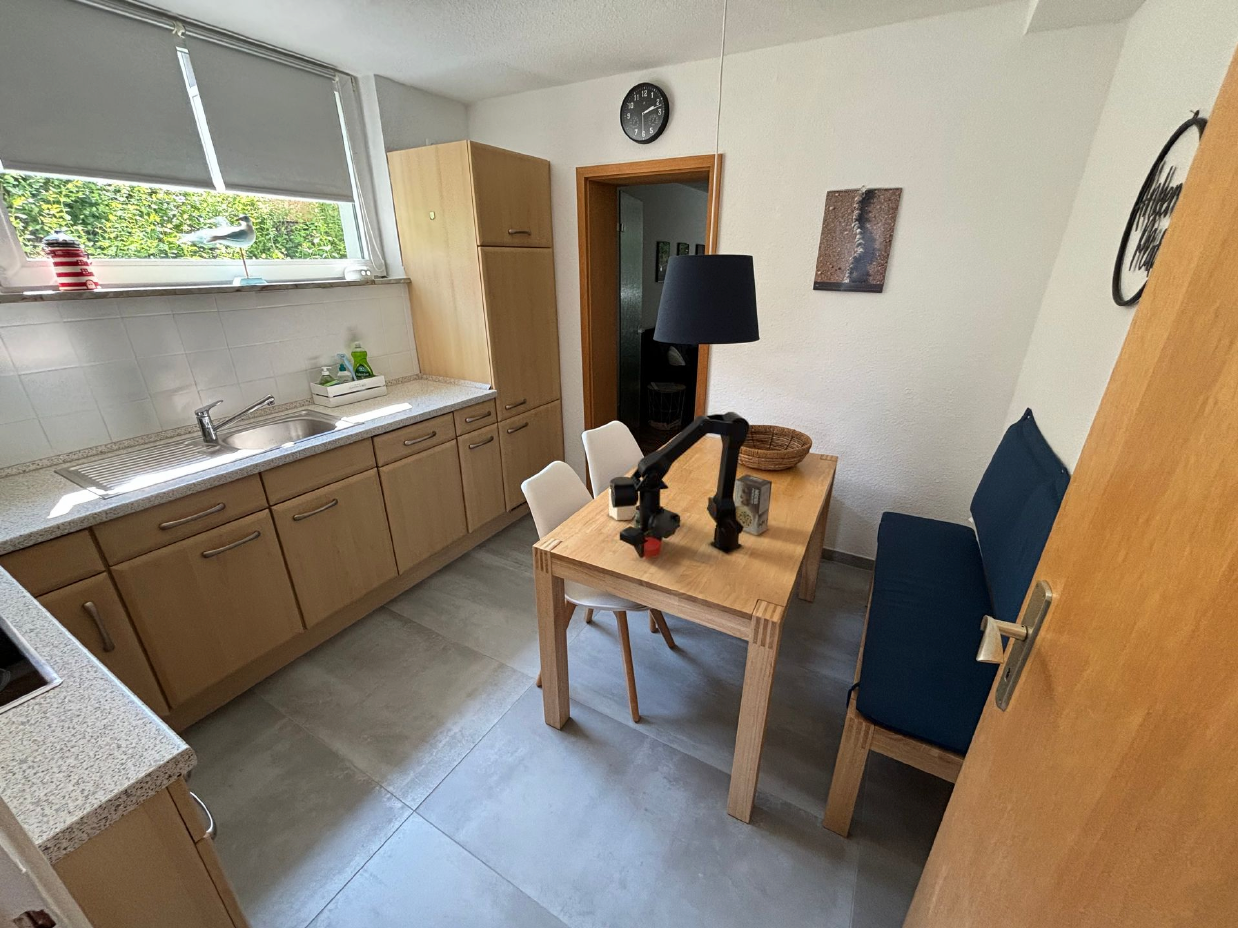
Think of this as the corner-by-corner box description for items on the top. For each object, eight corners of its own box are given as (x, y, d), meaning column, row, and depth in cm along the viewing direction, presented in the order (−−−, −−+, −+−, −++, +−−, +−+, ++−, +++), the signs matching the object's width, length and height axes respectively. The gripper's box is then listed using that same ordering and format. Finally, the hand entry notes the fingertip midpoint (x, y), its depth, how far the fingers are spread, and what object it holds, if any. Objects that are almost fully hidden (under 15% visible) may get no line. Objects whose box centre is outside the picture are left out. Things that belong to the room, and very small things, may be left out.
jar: (634, 508, 168) (634, 475, 163) (637, 519, 160) (638, 485, 156) (608, 509, 167) (607, 476, 163) (610, 521, 160) (609, 487, 155)
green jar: (658, 541, 148) (659, 514, 144) (642, 548, 144) (642, 520, 141) (645, 533, 152) (645, 506, 149) (629, 539, 149) (629, 512, 146)
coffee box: (767, 528, 154) (773, 481, 148) (756, 536, 150) (761, 487, 144) (742, 519, 160) (746, 473, 154) (731, 526, 156) (735, 478, 150)
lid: (632, 552, 140) (632, 545, 139) (644, 542, 145) (644, 534, 144) (653, 559, 136) (653, 552, 135) (665, 548, 141) (665, 541, 140)
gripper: (650, 525, 123) (649, 578, 129) (694, 500, 136) (691, 550, 142) (617, 511, 130) (618, 562, 136) (662, 489, 143) (661, 536, 149)
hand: (648, 552), depth 141 cm, fingers closed on lid, 6 cm apart
